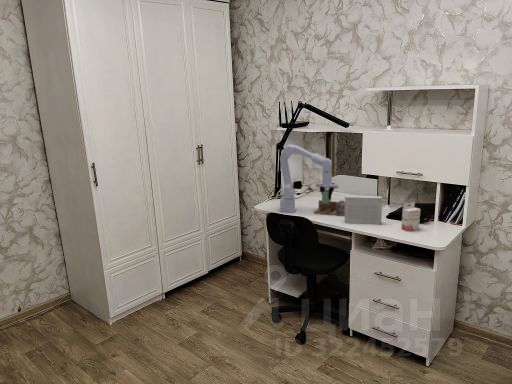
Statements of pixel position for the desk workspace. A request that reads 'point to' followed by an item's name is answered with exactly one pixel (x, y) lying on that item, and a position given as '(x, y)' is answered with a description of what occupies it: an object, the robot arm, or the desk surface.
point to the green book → (325, 197)
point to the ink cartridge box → (410, 217)
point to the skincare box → (363, 209)
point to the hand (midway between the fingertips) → (326, 198)
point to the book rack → (331, 208)
